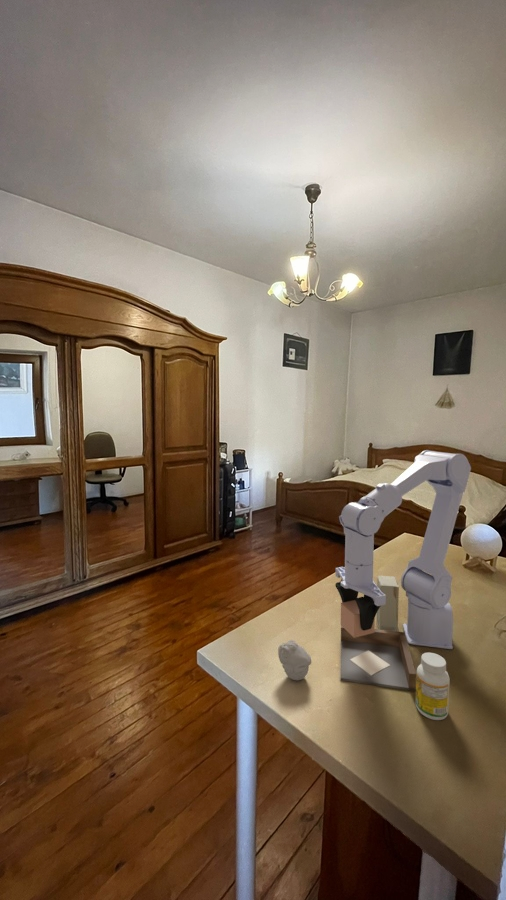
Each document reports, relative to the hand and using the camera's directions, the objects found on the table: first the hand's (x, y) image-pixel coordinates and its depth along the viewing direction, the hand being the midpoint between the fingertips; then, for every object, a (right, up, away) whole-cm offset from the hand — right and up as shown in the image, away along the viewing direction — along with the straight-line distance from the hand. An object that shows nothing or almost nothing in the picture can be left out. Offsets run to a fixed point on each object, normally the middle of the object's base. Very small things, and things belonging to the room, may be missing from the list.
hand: (358, 621), depth 81 cm
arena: (+3, -9, 0) cm, 9 cm away
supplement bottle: (+10, -10, -13) cm, 19 cm away
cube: (0, -2, 0) cm, 2 cm away
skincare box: (+11, -8, +13) cm, 18 cm away
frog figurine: (-14, -10, -4) cm, 17 cm away
